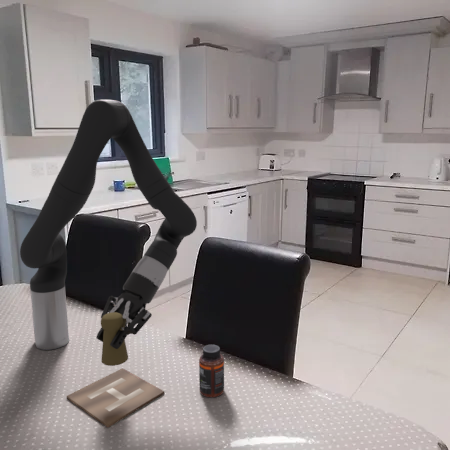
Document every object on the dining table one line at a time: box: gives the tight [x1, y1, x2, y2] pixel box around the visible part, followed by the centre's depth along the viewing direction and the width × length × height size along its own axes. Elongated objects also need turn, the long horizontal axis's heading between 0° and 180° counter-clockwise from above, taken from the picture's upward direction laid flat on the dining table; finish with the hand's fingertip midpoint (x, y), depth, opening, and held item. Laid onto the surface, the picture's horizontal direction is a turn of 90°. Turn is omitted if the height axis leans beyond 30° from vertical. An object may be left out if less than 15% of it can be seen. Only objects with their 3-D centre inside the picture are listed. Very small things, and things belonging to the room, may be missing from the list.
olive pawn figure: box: [100, 312, 129, 367], centre depth 99 cm, size 6×6×11 cm
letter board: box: [66, 368, 165, 428], centre depth 102 cm, size 16×16×1 cm
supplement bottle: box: [198, 344, 225, 398], centre depth 103 cm, size 6×6×11 cm
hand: (106, 343), depth 98 cm, fingers closed on olive pawn figure, 4 cm apart
